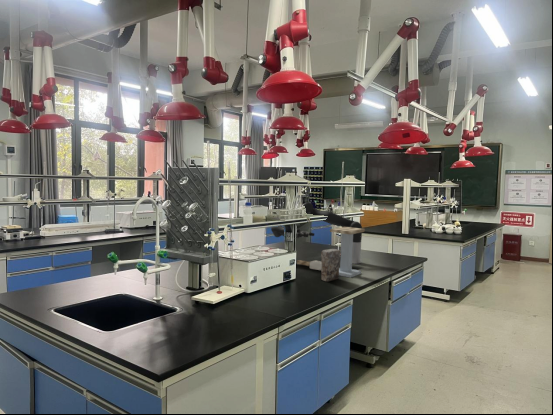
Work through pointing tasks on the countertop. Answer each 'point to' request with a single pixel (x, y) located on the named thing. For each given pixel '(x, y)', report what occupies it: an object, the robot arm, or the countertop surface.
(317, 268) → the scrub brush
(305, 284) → the countertop surface
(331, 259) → the stone block
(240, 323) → the countertop surface
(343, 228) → the shelf stand
